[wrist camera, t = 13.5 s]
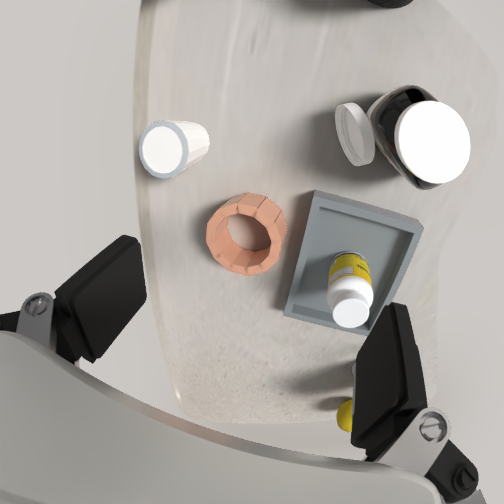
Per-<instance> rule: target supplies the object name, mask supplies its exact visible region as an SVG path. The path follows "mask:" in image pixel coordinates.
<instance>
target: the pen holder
mask: <svg viewBox="0 0 504 504" xmlns="http://www.w3.org/2000/svg"><path fill="white" fill-rule="evenodd" d="M368 1H370V2H372V3H375V4H378V5H381V6H385V7H392V8H395V7H403V6H406V5H408V4H409V3H411V2H412V1H413V0H368Z"/></svg>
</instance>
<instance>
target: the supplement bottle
mask: <svg viewBox="0 0 504 504" xmlns="http://www.w3.org/2000/svg"><path fill="white" fill-rule="evenodd" d="M327 301H328V305H329V307H330V309H331V310H332V315H333V319H334V321H335V322H336V323H337V324H338V325H340V326H342V327H345V328H355V327H358V326H360V325H362V324H363V323H364V322H365V321H366V320H367V319H368V317H369V308H370V306H371V304H372V302H373V289H372V283H371V277H370V272H369V266H368V263H367V261H366V259H365V258H364V257H363V256H362V255H361V254H359V253H357V252H353V251H347V252H342V253H340V254H338V255H337V256H335V257H334V258H333V260H332V261H331V263H330V266H329V277H328V292H327Z"/></svg>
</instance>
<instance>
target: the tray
mask: <svg viewBox="0 0 504 504" xmlns="http://www.w3.org/2000/svg"><path fill="white" fill-rule="evenodd" d="M423 229H424V228H423V226H422V225H421V223H420V222H419V220H417V219H414V218H411V217H408V216H405V215H402V214H399V213H396V212H392V211H389V210H386V209H383V208H379V207H376V206H373V205H369V204H366V203H362V202H359V201H355V200H351V199H348V198H344V197H340V196H337V195H333V194H329V193H325V192H321V191H317V190H315V191H314V195H313V200H312V204H311V208H310V213H309V217H308V221H307V226H306V230H305V234H304V238H303V242H302V246H301V250H300V254H299V258H298V262H297V266H296V270H295V273H294V277H293V281H292V285H291V289H290V292H289V296H288V300H287V303H286V307H285V310H284V314H283V316H287V317H291V318H295V319H298V320H302V321H306V322H310V323H314V324H318V325H322V326H326V327H330V328H334V329H339V330H343V331H347V332H351V333H356V334H360V335H365V336H368V335H369V333H370V332H371V330H372V328H373V326H374V324H375V322H376V321H377V319H378V317H379V315H380V313H381V311H382V309H383V307H384V306H385V305H389V304H390V303H391V302H392V300H393V298H394V296H395V294H396V292H397V290H398V288H399V286H400V284H401V281H402V279H403V277H404V275H405V273H406V271H407V268H408V266H409V264H410V261H411V259H412V257H413V254H414V252H415V249H416V247H417V245H418V242H419V240H420V237H421V234H422V232H423ZM347 251H353V252H357V253H359V254H361V255H362V256H363V257H364V258H365V259H366V261H367V263H368V266H369V272H370V277H371V283H372V289H373V302H372V304H371V306H370V308H369V317H368V319H367V320H366V321H365V322H364V323H363V324H362V325H360V326H358V327H355V328H345V327H342V326H340V325H338V324H337V323H336V322H335V321H334V319H333V315H332V310H331V309H330V307H329V305H328V301H327V292H328V277H329V266H330V263H331V261H332V260H333V258H334V257H335V256H337V255H338V254H340V253H342V252H347Z"/></svg>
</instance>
